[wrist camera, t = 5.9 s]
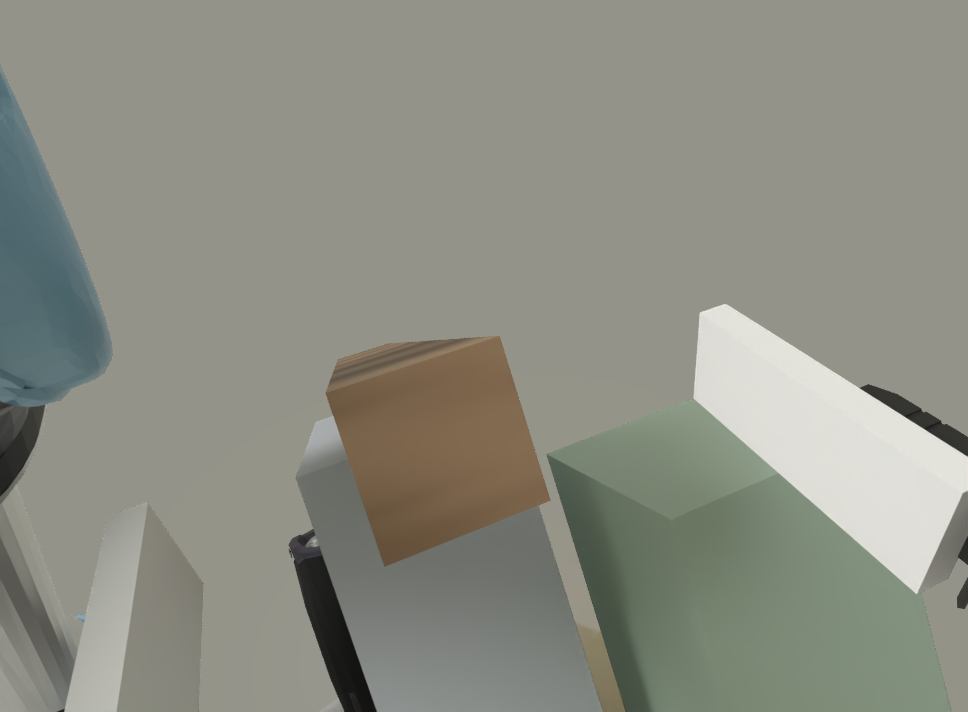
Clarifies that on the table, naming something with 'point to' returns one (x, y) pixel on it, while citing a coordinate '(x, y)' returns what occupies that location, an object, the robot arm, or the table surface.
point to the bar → (434, 440)
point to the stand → (448, 606)
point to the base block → (734, 580)
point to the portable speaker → (330, 625)
